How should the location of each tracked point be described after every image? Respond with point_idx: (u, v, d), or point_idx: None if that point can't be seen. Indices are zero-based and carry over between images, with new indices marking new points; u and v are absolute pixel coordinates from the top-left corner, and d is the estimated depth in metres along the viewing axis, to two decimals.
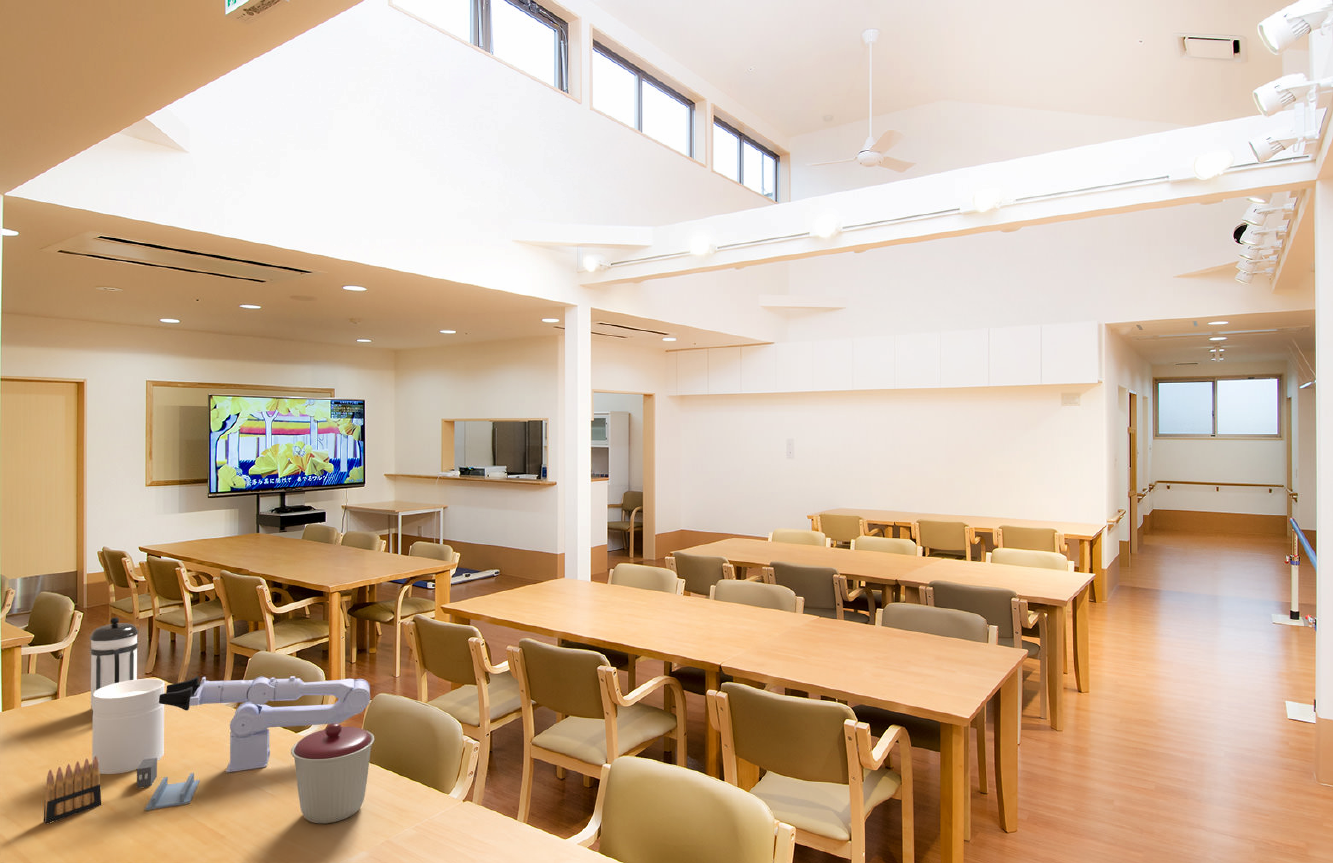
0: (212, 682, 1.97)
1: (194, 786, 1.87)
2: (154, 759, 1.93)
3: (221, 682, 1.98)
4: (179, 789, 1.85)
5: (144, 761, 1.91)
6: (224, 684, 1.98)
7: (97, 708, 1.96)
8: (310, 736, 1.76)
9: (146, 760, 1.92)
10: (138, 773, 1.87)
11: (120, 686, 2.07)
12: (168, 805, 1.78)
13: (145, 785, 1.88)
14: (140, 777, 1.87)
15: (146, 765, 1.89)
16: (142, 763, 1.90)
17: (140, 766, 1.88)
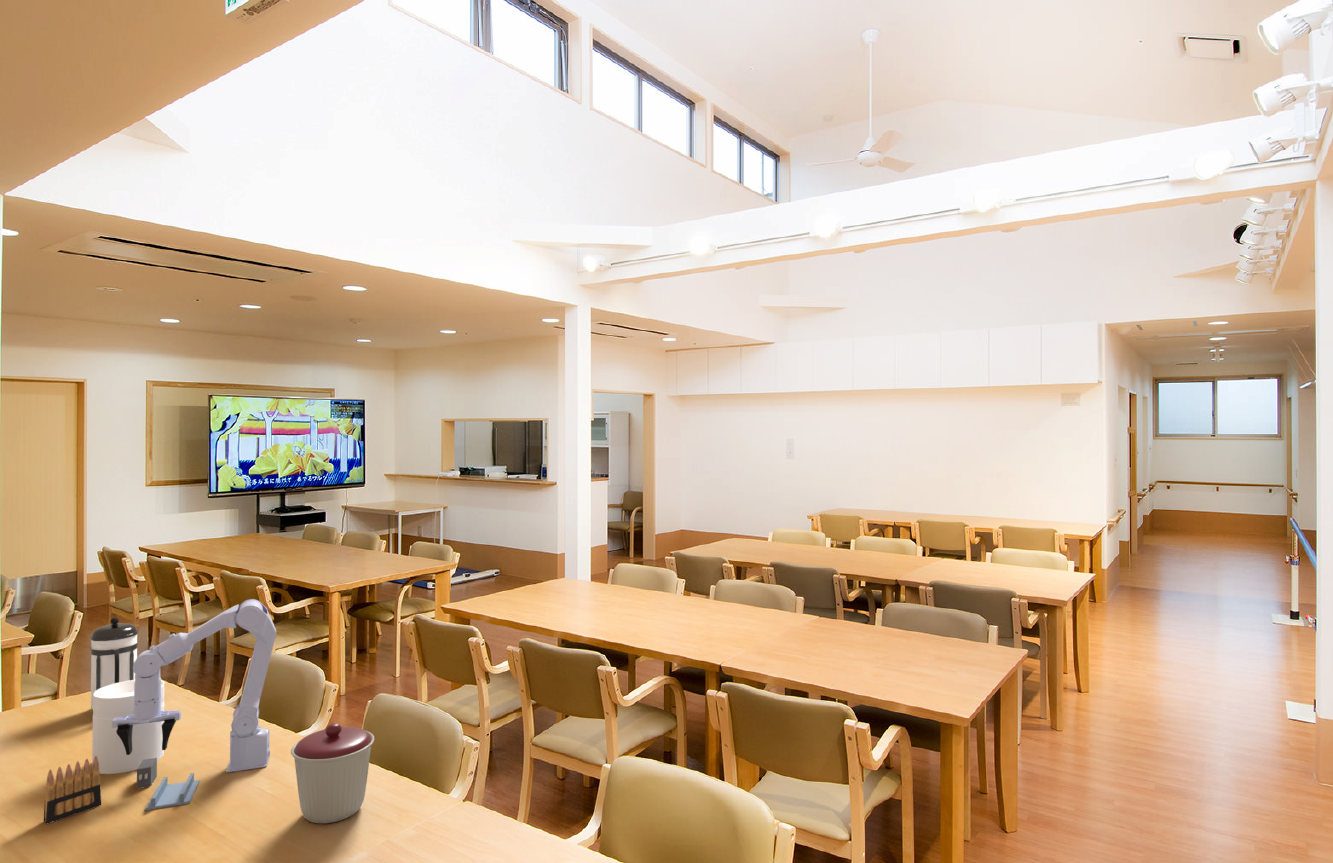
0: (146, 711, 1.88)
1: (194, 786, 1.87)
2: (154, 759, 1.93)
3: (147, 703, 1.88)
4: (179, 789, 1.85)
5: (144, 761, 1.91)
6: (135, 700, 1.88)
7: (97, 708, 1.96)
8: (310, 736, 1.76)
9: (146, 760, 1.92)
10: (138, 773, 1.87)
11: (120, 686, 2.07)
12: (168, 805, 1.78)
13: (145, 785, 1.88)
14: (140, 777, 1.87)
15: (146, 765, 1.89)
16: (142, 763, 1.90)
17: (140, 766, 1.88)
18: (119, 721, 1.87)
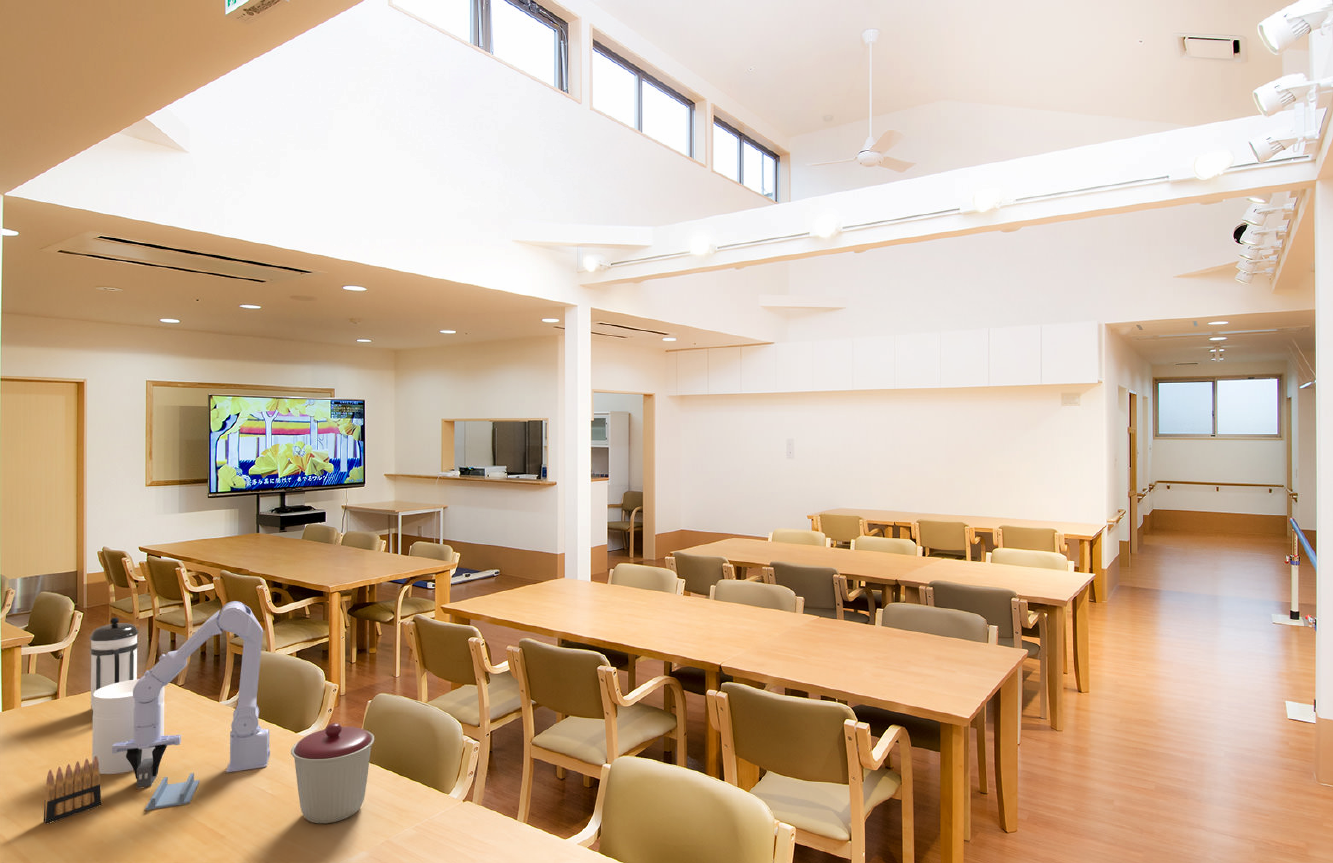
0: (146, 737, 1.88)
1: (194, 786, 1.87)
2: None
3: (147, 728, 1.88)
4: (179, 789, 1.85)
5: (144, 761, 1.91)
6: (134, 725, 1.88)
7: (97, 708, 1.96)
8: (310, 736, 1.76)
9: (146, 760, 1.92)
10: (138, 773, 1.87)
11: (120, 686, 2.07)
12: (168, 805, 1.78)
13: (145, 785, 1.88)
14: (140, 777, 1.87)
15: (146, 765, 1.89)
16: (142, 763, 1.90)
17: (140, 766, 1.88)
18: (119, 747, 1.87)
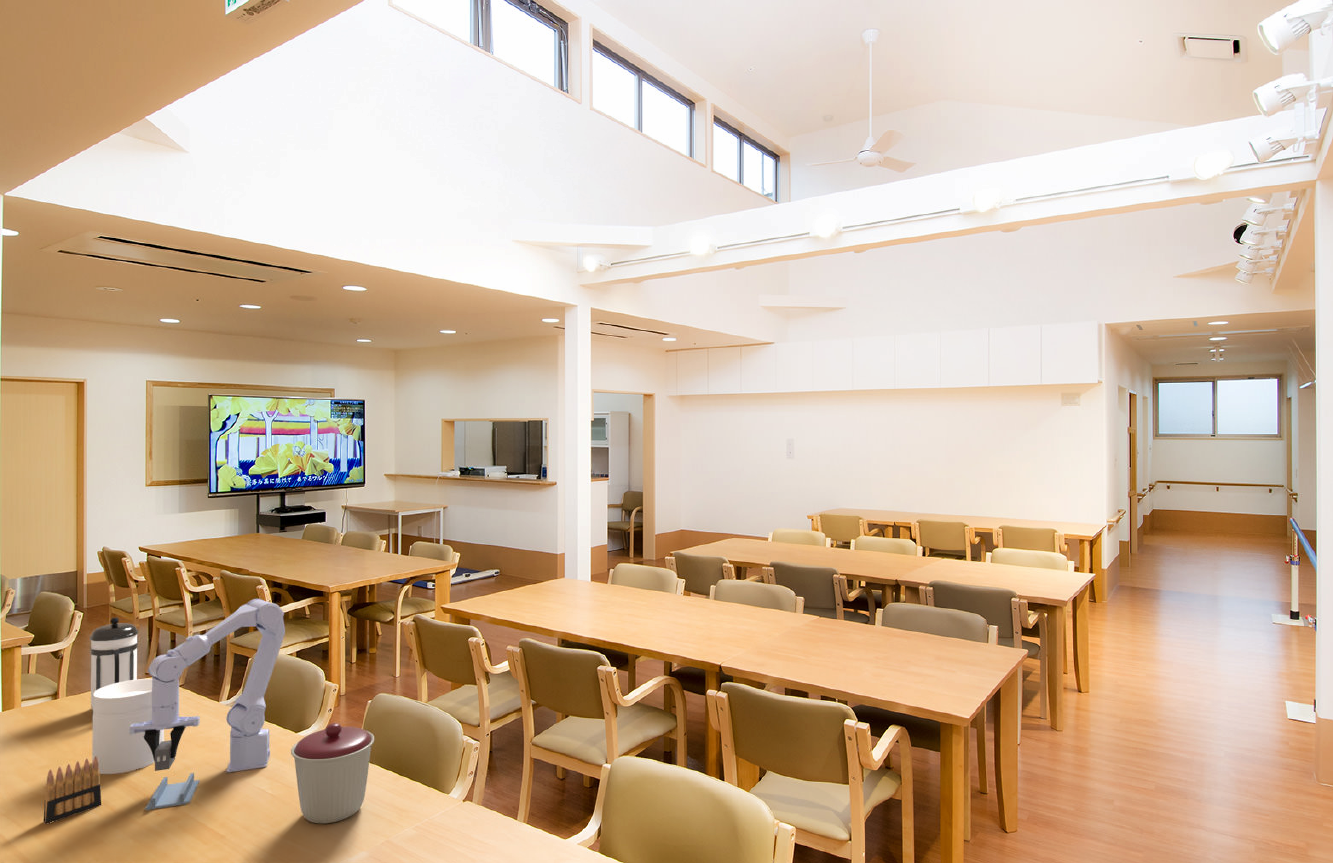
0: (164, 717, 1.83)
1: (194, 786, 1.87)
2: None
3: (165, 709, 1.83)
4: (179, 789, 1.85)
5: (162, 743, 1.87)
6: (156, 706, 1.83)
7: (97, 708, 1.96)
8: (310, 736, 1.76)
9: (164, 742, 1.87)
10: (156, 755, 1.82)
11: (120, 686, 2.07)
12: (168, 805, 1.78)
13: (163, 767, 1.83)
14: (158, 759, 1.82)
15: (164, 747, 1.84)
16: (160, 745, 1.85)
17: (158, 748, 1.84)
18: (137, 727, 1.82)
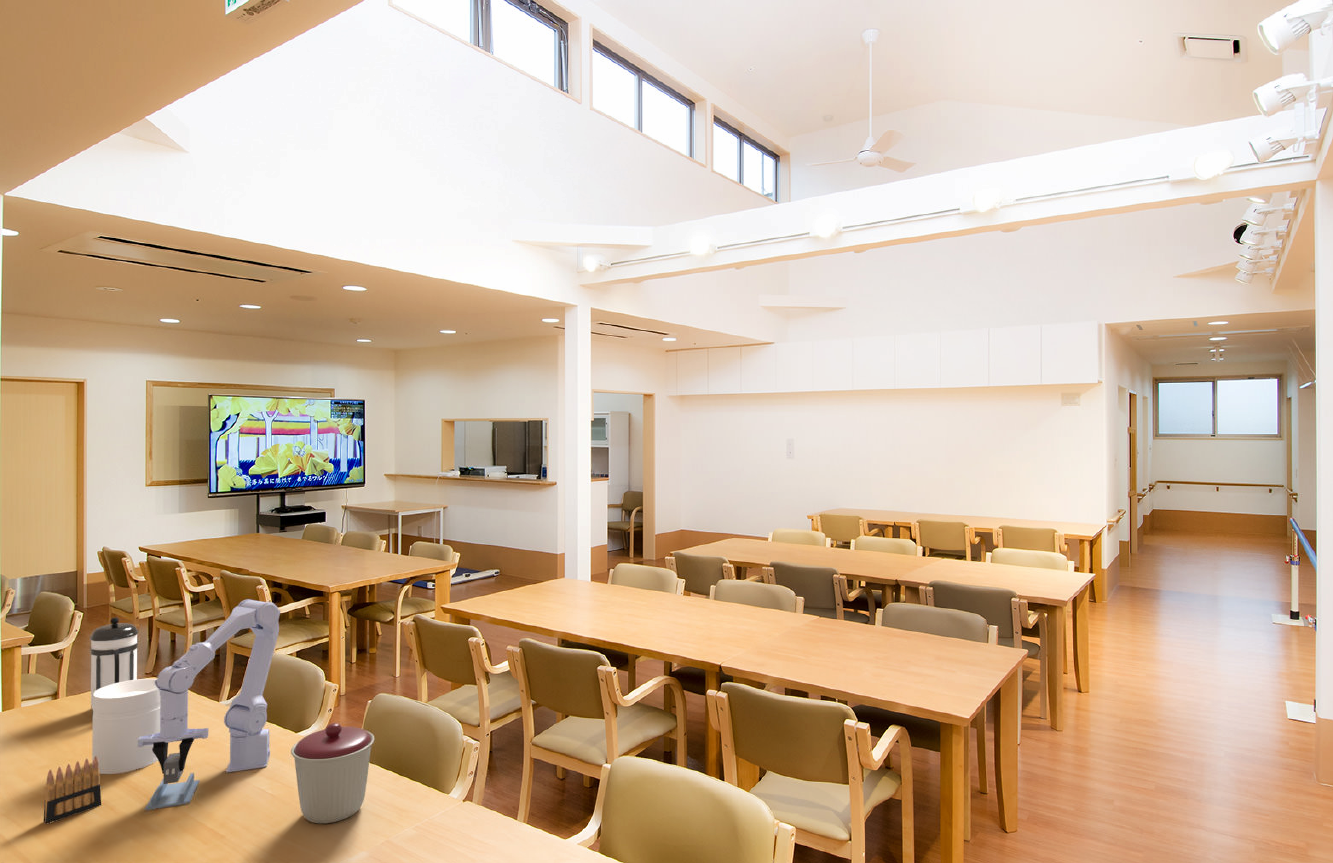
0: (173, 730, 1.81)
1: (194, 786, 1.87)
2: None
3: (174, 721, 1.81)
4: (179, 789, 1.85)
5: (170, 755, 1.84)
6: (167, 718, 1.80)
7: (97, 708, 1.96)
8: (310, 736, 1.76)
9: (172, 754, 1.85)
10: (165, 768, 1.80)
11: (120, 686, 2.07)
12: (168, 805, 1.78)
13: (172, 780, 1.81)
14: (167, 772, 1.80)
15: (173, 760, 1.82)
16: (168, 757, 1.83)
17: (167, 760, 1.81)
18: (145, 740, 1.80)
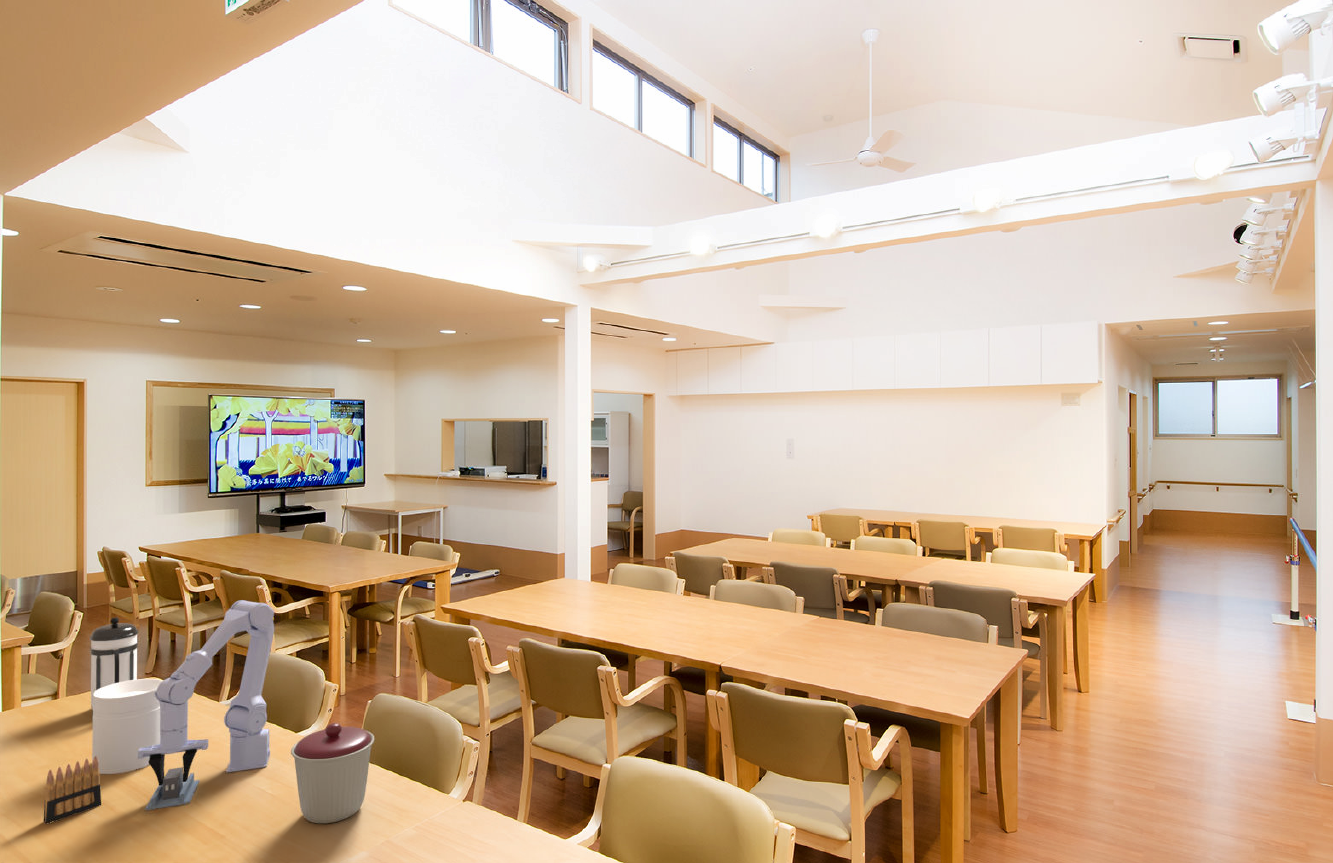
0: (173, 741, 1.81)
1: (194, 786, 1.87)
2: (180, 769, 1.86)
3: (174, 732, 1.81)
4: None
5: (170, 771, 1.84)
6: (167, 730, 1.80)
7: (97, 708, 1.96)
8: (310, 736, 1.76)
9: (172, 770, 1.85)
10: (164, 783, 1.80)
11: (120, 686, 2.07)
12: (168, 805, 1.78)
13: (172, 796, 1.81)
14: (166, 788, 1.80)
15: (173, 775, 1.82)
16: (168, 773, 1.83)
17: (166, 776, 1.81)
18: (145, 751, 1.80)
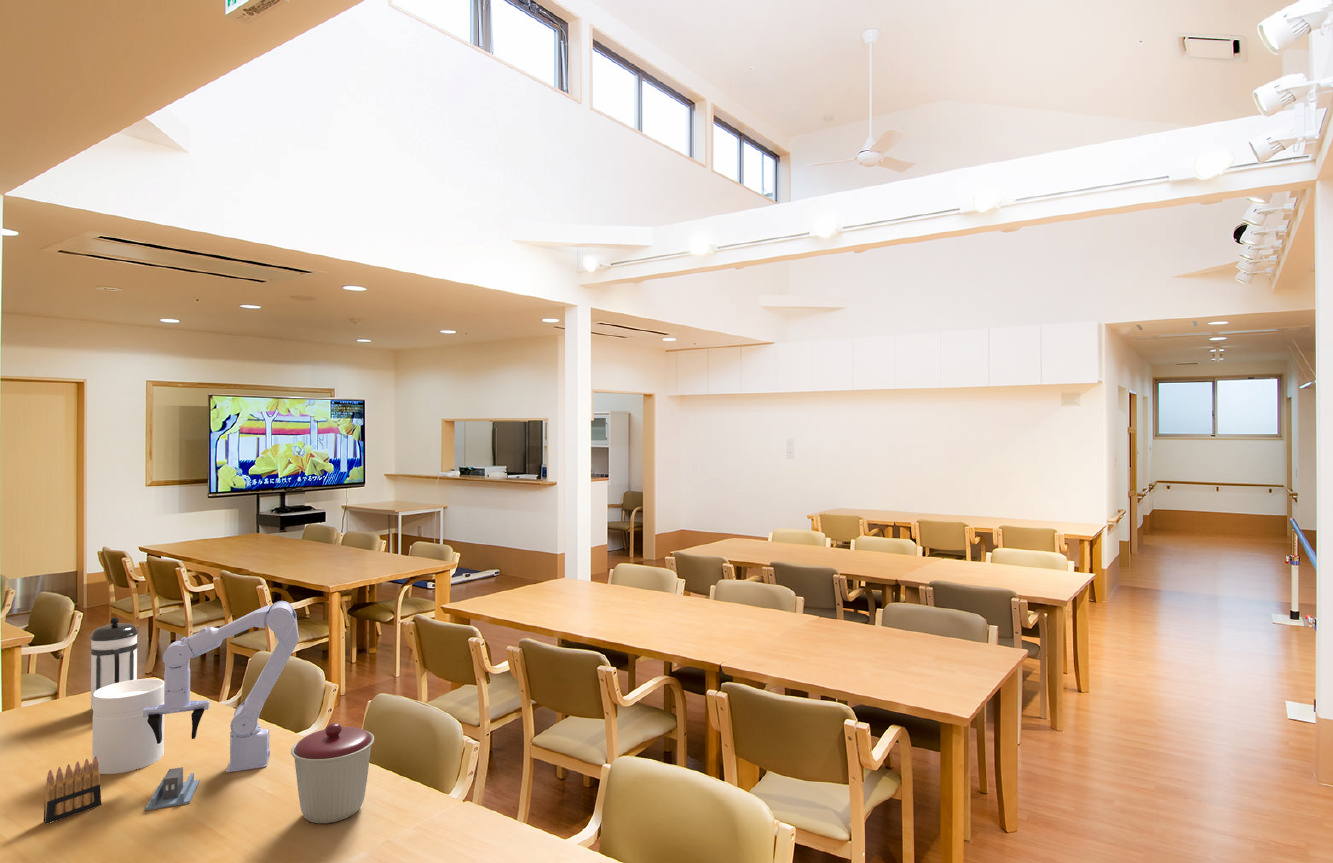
0: (177, 701, 1.92)
1: (194, 786, 1.87)
2: (180, 769, 1.86)
3: (178, 692, 1.92)
4: None
5: (170, 771, 1.84)
6: (165, 689, 1.92)
7: (97, 708, 1.96)
8: (310, 736, 1.76)
9: (172, 770, 1.85)
10: (164, 783, 1.80)
11: (120, 686, 2.07)
12: (168, 805, 1.78)
13: (172, 796, 1.81)
14: (167, 788, 1.80)
15: (173, 775, 1.82)
16: (168, 773, 1.83)
17: (166, 776, 1.81)
18: (150, 710, 1.91)
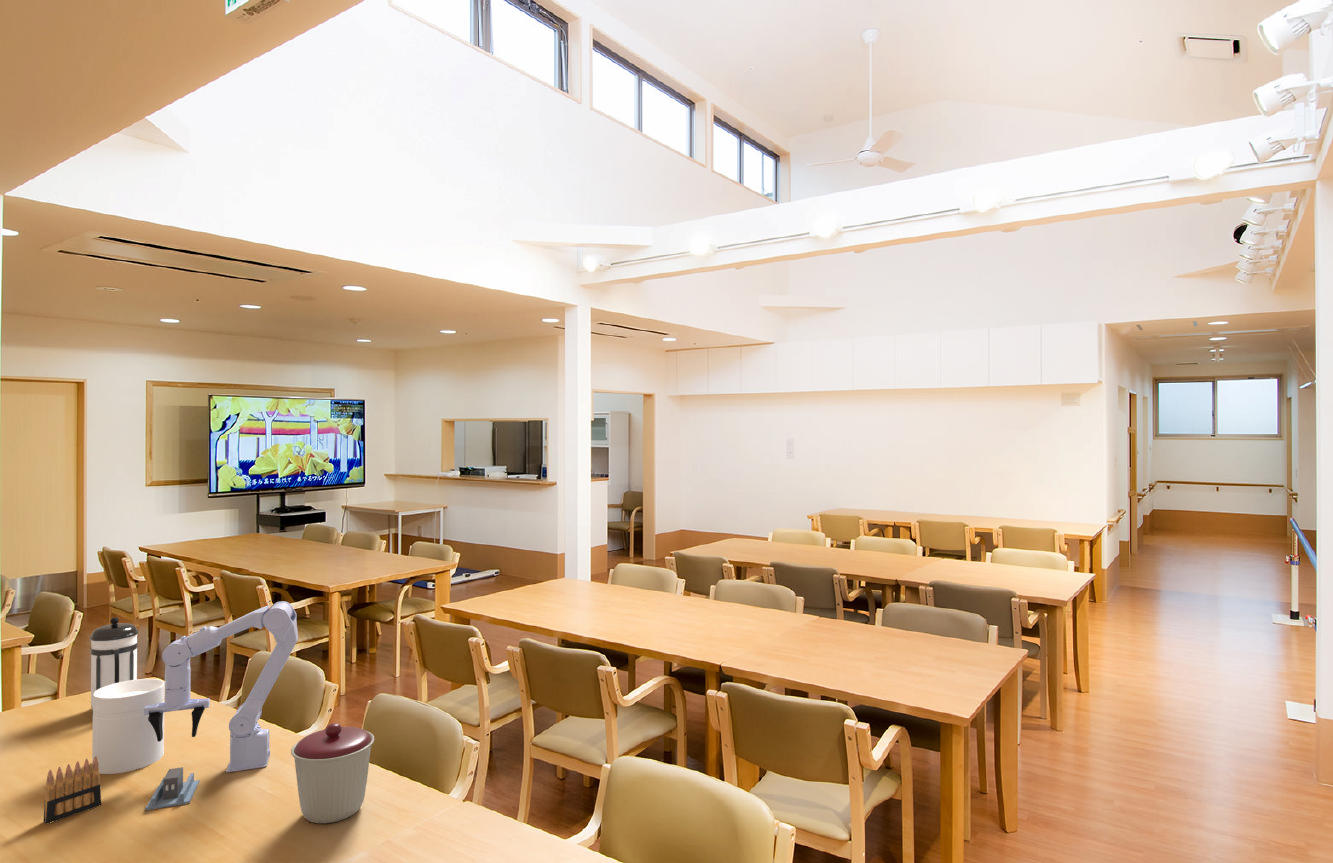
0: (177, 699, 1.93)
1: (194, 786, 1.87)
2: (180, 769, 1.86)
3: (178, 691, 1.93)
4: None
5: (170, 771, 1.84)
6: (165, 687, 1.93)
7: (97, 708, 1.96)
8: (310, 736, 1.76)
9: (172, 770, 1.85)
10: (164, 783, 1.80)
11: (120, 686, 2.07)
12: (168, 805, 1.78)
13: (172, 796, 1.81)
14: (167, 788, 1.80)
15: (173, 775, 1.82)
16: (168, 773, 1.83)
17: (166, 776, 1.81)
18: (150, 708, 1.92)
